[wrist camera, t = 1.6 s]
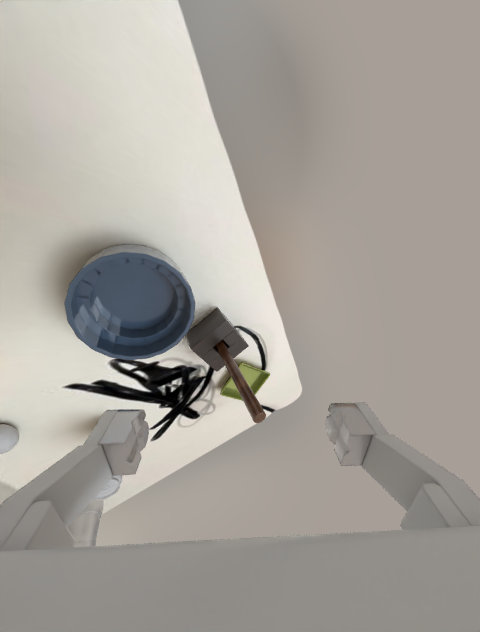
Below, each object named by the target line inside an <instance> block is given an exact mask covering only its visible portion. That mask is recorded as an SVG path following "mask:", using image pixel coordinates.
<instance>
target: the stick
mask: <svg viewBox="0 0 480 632" xmlns="http://www.w3.org/2000/svg"><path fill="white" fill-rule="evenodd" d="M215 346H216V348H217V350H218V352H219V354H220V356H221V358H222V360H223V362H224V364H225V366H226V368H227V370H228V372H229V374H230V376H231V378H232V380H233V381H234V383H235V385H236V387H237V389H238V391H239V393H240V395H241V397H242V399H243V401H244V403H245V405H246V407H247V409H248V411H249V413H250V415H251V417H252V419H253V421H254V422H255V423H259V422H262V421H263V420H264V419H265V417H266V414H265V412H264V410H263V409H262V407H261V405H260V403H259V402H258V400H257V398H256V397H255V395H254V393H253V391H252V390H251V388H250V386H249V385H248V383H247V381H246V379H245V378H244V376H243V374H242V373H241V371H240V369H239V367H238V366H237V364H236V362H235V360H234V359H233V357H232V355H231V354H230V352H229V350H228V348H227V347H226V345H225V343H224V342H223V340H221V341H220V342H219V343H218V344H216V345H215Z"/></svg>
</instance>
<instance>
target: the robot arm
mask: <svg viewBox="0 0 480 632" xmlns="http://www.w3.org/2000/svg"><path fill="white" fill-rule="evenodd" d="M328 410H329V412H330V415H329V416H328V417H327V419H326V431H327V434H328V437H329V439H330V441H332V442H333V443H334V444H335V449H334V451H335V453H336V455H337V457H338V460H339V461H340V464H341V465H342V466H352V465H354V466H357V465H358V466H359V465H362V467H363V468H364V469H365V470H366V471H367V472H368V473H369V474H370V475H371V476H372V477H373V478H374V479H375V480H376V481H377V482H378V483H379V484H380V485H381V486H382V487H383V488H384V489H385V490H386V491H387V492H388V493H389V494H390V495H391V496H392V497H393V498H394V499H395V500H397V502H398V503H399V504H400V505H401V506H403V507H404V508H405V510H407V513H406V514H405V516H404V518H403V520H402V522H401V527H402V529H403V530H392V531H372V532H354V533H336V534H335V533H334V534H315V535H296V536H277V537H259V538H240V539H220V540H202V541H183V542H164V543H147V544H146V543H145V544H127V545H108V546H89V547H73V546H74V544H75V540H74V537H73V536H72V534H71V532H70V531H69V529H68V528H67V527H68V526H69V525H70V524H71V523H72V522H73V521H74V520H75V519H76V517H77V516H78V515H79V514H80V513H81V512H82V511H83V510H84V509H85V508H86V506H87V505H88V504H89V503H90V502H91V501H92V500H93V499H94V498H95V497H96V496H97V494H98V493H99V492H100V491H101V490H102V489H103V488H104V487H105V486H106V485H107V483H108V482H109V481H110V480H111V479H112V478H113V476H116V475H130V474H136V471H137V468H138V465H139V463H140V460H141V454H140V451H141V450H142V449H143V448H144V447H145V446H146V443H147V440H148V434H149V427H148V423H147V422H146V421H144V419H145V417H146V414H145V411H144V410H107V411H105V412H104V413H103V414H102V416H101V418H100V419H99V421H98V422H97V424H96V426H95V427H94V429H93V430H92V432H91V434H90V435H89V437H88V438H87V440H86V441H85V443H84V445H83V446H78V447H77V448H75V449H74V450H73V451H71V452H70V453H69V454H67V455H66V456H65V457H63V458H62V459H60V460H59V461H58V462H56V463H55V464H54V465H52V466H51V467H50V468H48V469H47V470H46V471H44V472H43V473H41V474H40V475H39V476H37V477H36V478H35V479H33V480H32V481H31V482H29V483H28V484H27V485H25V486H24V487H22V488H21V489H20V490H18V491H17V492H16V493H14V494H13V495H12V496H10V497H9V498H8V499H6V500H5V501H4V502H3V503H2V504H1V506H0V632H480V499H479V498H478V497H477V496H476V494H475V493H474V492H473V491H472V490H471V489H470V488H469V486H468V485H467V484H466V483H465V482H464V481H463V480H461V479H460V478H459V477H457V476H456V475H454V474H452V473H451V472H449V471H448V470H446V469H445V468H443V467H442V466H440V465H439V464H437V463H436V462H434V461H433V460H431V459H429V458H428V457H426V456H425V455H423V454H422V453H420V452H419V451H417V450H416V449H414V448H413V447H411V446H410V445H408V444H407V443H405V442H404V441H402V440H401V439H399V438H398V437H396V436H395V435H389V433H388V432H387V430H386V429H385V428H384V426H383V425H382V424H381V422H380V421H379V420H378V418H377V417H376V415H375V414H374V412H373V411H372V410H371V408H370V407H369V406H368V404H366V403H365V402H362V403H335V404H331V405H330V406H329V409H328Z"/></svg>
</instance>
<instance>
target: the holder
mask: <svg viewBox="0 0 480 632" xmlns="http://www.w3.org/2000/svg"><path fill="white" fill-rule="evenodd" d="M186 336H187V339H188V342H189V345H190V348H191V349H192V350H193V351H194V352H195V353H196V354H197V355H198V356H200V357H201V358H202V359H203V360H204V361H205V362H206V363H207V364H209V365H210V366H211V367H212V368H213V369H214V370H215V371H219V370H220V369H221V368H222V367H223V366H225V364H224V362H223V360H222V358H221V356H220V354H219V352H218V350H217V348H216V346H215V345H216V344H218V343H219V342H220V341H221V340H223V342H224V343H225V345H226V347H227V348H228V350H229V352H230V354H231V355H232V357H233V358H235V357H236V356H237V355H238V354H239V353H241V352H242V351H243V350H244V349H246V348H247V347H248V344H247V343H246V341H245V340H244V339H243V337H242V336H241V335H240V333H239V332H238V331H237V330H236V328H235V327H234V326H233V325H232V324H231V323H230V321H229V320H228V319H227V318H226V317H225V316H224V314H223V313H222V312H221V311H220V310H219V309H218V308H217V309H215V310H214V311H213V312H212V313H211V314H209V315H208V316H207V317H206V318H204V319H203V320H202V321H201V322H199V323H198V324H197V325H196V326H194V327H193V328H192V329H191V330H190V331H188V333H187V334H186Z"/></svg>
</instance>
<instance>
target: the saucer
mask: <svg viewBox="0 0 480 632" xmlns="http://www.w3.org/2000/svg"><path fill="white" fill-rule="evenodd" d="M238 367H239V369H240V371H241V373H242V374H243V376H244V378H245V379H246V381H247V383H248V385H249V386H250V388H251V390H252V391H253V393H254V395H255V394H256V393H257V392H258V390H259V389H260V388H261V386H262V385H263V384H264V383H265V381H266V380H267V379H268V377H269V376H270V373H268V372H266V371H263V370H260V369H258V368H255V367H253V366H250V365H247V364H245V363H240V364H239V366H238ZM220 395H223V396H226V397H230V398H234V399H238V400H242V401H243V399H242V397H241V395H240V393H239V391H238V389H237V387H236V385H235V383H234V381H233V380H232V378H231V377H230V379H229V380H228V381H227V383H226V384H225V386H224V387H223V389H222V391H221V393H220Z"/></svg>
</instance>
